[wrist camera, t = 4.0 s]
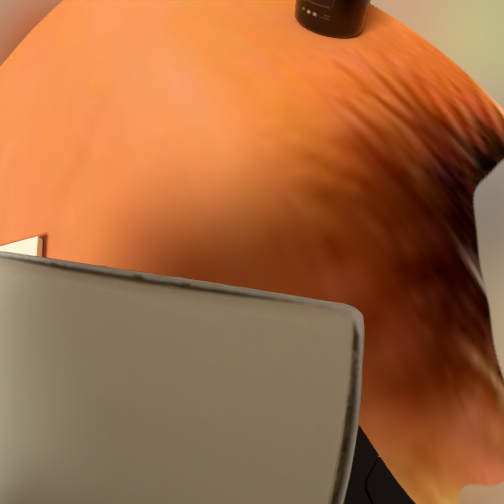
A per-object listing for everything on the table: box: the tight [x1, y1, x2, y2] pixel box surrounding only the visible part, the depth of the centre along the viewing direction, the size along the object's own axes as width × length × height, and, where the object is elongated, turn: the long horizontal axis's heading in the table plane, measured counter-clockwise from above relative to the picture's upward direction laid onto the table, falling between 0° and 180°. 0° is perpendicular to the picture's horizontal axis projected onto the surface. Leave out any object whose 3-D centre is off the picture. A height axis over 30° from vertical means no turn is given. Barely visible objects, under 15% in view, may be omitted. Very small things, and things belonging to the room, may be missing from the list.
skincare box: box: [0, 251, 365, 504], centre depth 8 cm, size 6×4×12 cm
